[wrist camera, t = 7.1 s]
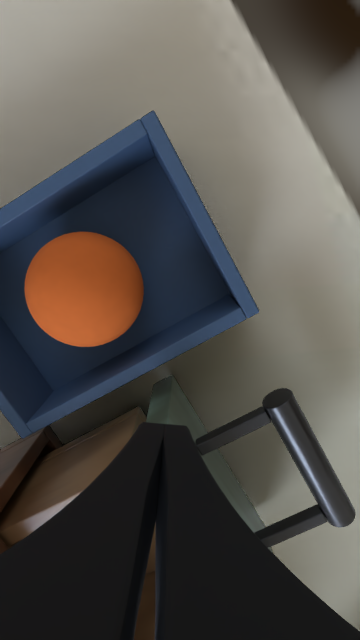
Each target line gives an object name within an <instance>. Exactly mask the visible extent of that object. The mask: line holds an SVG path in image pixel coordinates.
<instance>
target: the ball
mask: <svg viewBox="0 0 360 640" xmlns="http://www.w3.org/2000/svg"><path fill="white" fill-rule="evenodd" d="M24 289H25V298H26V302H27V306H28V309H29V311H30V313H31V315H32V317H33V318H34V320H35V321H36V323H37V324H38V325H39V326H40V328H42V329H43V330H44V331H45V332H46V333H47V334H48V335H50V336H51V337H53V338H54V339H56V340H58V341H60V342H63V343H65V344H68V345H72V346H78V347H93V346H99V345H103V344H105V343H108V342H111V341H113V340H115V339H116V338H118V337H119V336H121V335H122V334H124V333H125V332H126V331H127V330H128V329H129V328H130V327H131V325H132V324H133V323H134V321H135V320H136V318H137V316H138V314H139V312H140V309H141V306H142V302H143V296H144V285H143V279H142V275H141V272H140V269H139V267H138V265H137V263H136V261H135V259H134V258H133V257H132V255H131V254H130V253H129V252H128V251H127V250H126V249H125V248H124V247H123V246H122V245H121V244H119V243H118V242H116V241H115V240H113V239H111V238H109V237H107V236H104V235H101V234H98V233H93V232H73V233H68V234H64V235H61V236H59V237H56V238H55V239H53V240H51V241H50V242H48V243H47V244H46V245H44V246H43V247H42V248H41V249H40V250H39V251H38V252H37V253H36V255H35V256H34V258H33V259H32V261H31V263H30V265H29V267H28V270H27V273H26V278H25V287H24Z"/></svg>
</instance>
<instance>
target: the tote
mask: <svg viewBox="0 0 360 640" xmlns="http://www.w3.org/2000/svg"><path fill="white" fill-rule="evenodd" d="M73 232H93V233H98V234H101V235H104V236H107V237H109V238H111V239H113V240H115V241H116V242H118V243H119V244H121V245H122V246H123V247H124V248H125V249H126V250H127V251H128V252H129V253H130V254H131V255H132V257H133V258H134V259H135V261H136V263H137V265H138V267H139V269H140V272H141V275H142V279H143V285H144V296H143V302H142V306H141V309H140V312H139V314H138V316H137V318H136V320H135V321H134V323H133V324H132V325H131V327H130V328H129V329H128V330H127V331H126V332H125V333H124V334H122V335H121V336H119V337H118V338H116V339H115V340H113V341H111V342H108V343H105V344H103V345H99V346H93V347H78V346H72V345H68V344H65V343H63V342H60V341H58V340H56V339H54V338H53V337H51V336H50V335H48V334H47V333H46V332H45V331H44V330H43V329H42V328H40V326H39V325H38V324H37V323H36V321H35V320H34V318H33V317H32V315H31V313H30V311H29V309H28V306H27V302H26V298H25V289H24V287H25V278H26V273H27V270H28V267H29V265H30V263H31V261H32V259H33V258H34V256H35V255H36V253H37V252H38V251H39V250H40V249H41V248H42V247H43V246H44V245H46V244H47V243H48V242H50V241H51V240H53V239H55V238H56V237H59V236H61V235H64V234H68V233H73ZM257 313H259V309H258V307H257V305H256V304H255V302H254V300H253V298H252V296H251V294H250V292H249V290H248V288H247V286H246V284H245V283H244V281H243V279H242V277H241V275H240V273H239V271H238V269H237V267H236V265H235V264H234V262H233V260H232V258H231V256H230V254H229V252H228V250H227V248H226V246H225V245H224V243H223V241H222V239H221V237H220V235H219V233H218V231H217V229H216V227H215V226H214V224H213V222H212V220H211V218H210V216H209V214H208V212H207V210H206V208H205V206H204V205H203V203H202V201H201V199H200V197H199V195H198V193H197V191H196V189H195V187H194V186H193V184H192V182H191V180H190V178H189V176H188V174H187V172H186V170H185V168H184V167H183V165H182V163H181V161H180V159H179V157H178V155H177V153H176V151H175V149H174V148H173V146H172V144H171V142H170V140H169V138H168V136H167V134H166V132H165V130H164V128H163V127H162V125H161V123H160V121H159V119H158V117H157V115H156V113H155V112H154V111H151V112H149V113H148V114H146V115H145V116H143V117H142V118H141V120H140V119H139V120H137V121H135V122H134V123H132V124H131V125H129V126H128V127H126V128H124V129H123V130H121V131H120V132H118V133H117V134H115V135H114V136H112V137H110V138H109V139H107V140H106V141H104V142H103V143H101V144H100V145H98V146H97V147H95V148H93V149H92V150H90V151H89V152H87V153H86V154H84V155H83V156H81V157H80V158H78V159H76V160H75V161H73V162H72V163H70V164H69V165H67V166H66V167H64V168H63V169H61V170H59V171H58V172H56V173H55V174H53V175H52V176H50V177H49V178H47V179H46V180H44V181H42V182H41V183H39V184H38V185H36V186H35V187H33V188H32V189H30V190H29V191H27V192H25V193H24V194H22V195H21V196H19V197H18V198H16V199H15V200H13V201H11V202H10V203H8V204H7V205H5V206H4V207H2V208H1V209H0V410H1V412H2V413H3V414H4V416H5V417H6V418H7V420H8V421H9V422H10V424H11V425H12V426H13V428H14V429H15V430H16V431H17V433H18V434H19V435H20V437H21V438H22V439H24V438H26V437H27V436H29V435H31V434H32V433H35V432H37V431H39V430H40V429H42V428H44V427H46V426H48V425H50V424H52V423H54V422H55V421H57V420H59V419H61V418H63V417H65V416H67V415H68V414H70V413H72V412H74V411H76V410H78V409H80V408H82V407H83V406H85V405H87V404H89V403H91V402H93V401H95V400H96V399H98V398H100V397H102V396H104V395H106V394H108V393H110V392H111V391H113V390H115V389H117V388H119V387H121V386H123V385H124V384H126V383H128V382H130V381H132V380H134V379H136V378H138V377H139V376H141V375H143V374H145V373H147V372H149V371H151V370H152V369H154V368H156V367H158V366H160V365H162V364H164V363H165V362H167V361H169V360H171V359H173V358H175V357H177V356H179V355H180V354H182V353H184V352H186V351H188V350H190V349H192V348H193V347H195V346H197V345H199V344H201V343H203V342H205V341H207V340H208V339H210V338H212V337H214V336H216V335H218V334H220V333H221V332H223V331H225V330H227V329H229V328H231V327H233V326H235V325H236V324H238V323H240V322H242V321H244V320H246V317H247V318H249V317H251V316H253V315H255V314H257Z"/></svg>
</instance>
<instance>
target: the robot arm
mask: <svg viewBox="0 0 360 640" xmlns="http://www.w3.org/2000/svg"><path fill="white" fill-rule="evenodd" d="M155 522H156V529H155V639H154V640H360V631H358V630H357V629H356V628H355V627H353V626H352V625H351V624H349V623H348V622H347V621H346V620H344V619H343V618H342V617H341V616H340V615H338V614H337V613H336V612H335V611H334V610H333V609H331V608H330V607H329V606H328V605H327V604H326V603H325V602H324V601H322V600H321V599H320V598H319V597H318V596H317V595H316V594H314V593H313V592H312V591H311V590H310V589H309V588H308V587H307V586H305V585H304V584H303V583H302V582H301V581H300V580H299V579H298V578H297V577H296V576H295V575H294V574H293V573H292V572H291V571H290V570H289V569H288V568H287V567H286V566H285V565H284V564H283V563H282V562H281V561H280V560H279V559H278V558H277V557H276V556H275V555H274V554H273V553H272V552H271V551H270V550H269V549H268V548H267V547H266V546H265V545H264V544H263V542H262V541H261V540H260V539H259V538H258V537H257V536H256V535H255V533H254V532H253V531H252V530H251V529H250V527H249V526H248V525H247V524H246V522H245V521H244V520H243V519H242V518H241V516H240V515H239V514H238V512H237V511H236V510H235V508H234V507H233V506H232V504H231V503H230V502H229V500H228V499H227V497H226V496H225V494H224V493H223V491H222V490H221V488H220V487H219V485H218V484H217V482H216V481H215V479H214V478H213V476H212V474H211V472H210V471H209V469H208V467H207V466H206V464H205V462H204V460H203V458H202V457H201V455H200V453H199V451H198V449H197V447H196V445H195V442H194V440H193V438H192V435H191V433H190V430H189V429H188V427H187V426H184V425H172V424H161V423H150V422H143V423H141V424H140V425H139V426H138V428H137V430H136V431H135V433H134V434H133V435H132V437H131V438H130V440H129V441H128V442H127V443H126V445H125V446H124V447H123V449H122V450H121V451H120V452H119V453H118V454H117V456H116V457H115V458H114V459H113V460H112V462H111V463H110V464H109V465H108V466H107V467H106V468H105V469H104V470H103V471H102V472H101V473H100V474H99V475H98V476H97V477H96V478H95V479H94V480H93V481H92V482H91V484H90V485H89V486H87V487H86V488H85V489H84V490H83V491H82V492H81V493H80V494H79V495H78V496H77V497H76V498H74V499H73V500H72V501H71V502H70V503H69V504H68V505H66V506H65V507H64V508H63V509H62V510H60V511H59V512H58V513H57V514H56V515H54V516H53V517H52V518H50V519H49V520H48V521H46V522H45V523H44V524H43V525H41V526H40V527H39V528H37V529H36V530H35V531H33V532H32V533H31V534H29V535H28V536H26V537H25V538H24V539H22V540H21V541H19V542H18V543H17V544H15V545H14V546H12V547H11V548H9V549H8V550H6V551H4V552H3V553H1V554H0V640H134V635H135V629H136V622H137V616H138V611H139V605H140V600H141V595H142V590H143V585H144V579H145V574H146V569H147V564H148V559H149V554H150V548H151V543H152V538H153V533H154V527H155Z"/></svg>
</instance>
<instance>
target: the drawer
mask: <svg viewBox="0 0 360 640" xmlns="http://www.w3.org/2000/svg"><path fill="white" fill-rule="evenodd" d="M262 404H263V406H262V407H260V408H258V409H256V410H254V411H252V412H250V413H248V414H246V415H244V416H242V417H240V418H238V419H236V420H233V421H231V422H229V423H227V424H225V425H223V426H221V427H219V428H217V429H215V430H213V431H211V432H209V433H208V432H207V430H206V429H205V427H204V425H203V424H202V422H201V421H200V419H199V417H198V416H197V414H196V412H195V411H194V409H193V408H192V406H191V404H190V403H189V401H188V399H187V398H186V396H185V394H184V393H183V391H182V390H181V388H180V386H179V385H178V383H177V381H176V380H175V378H174V376H173V375H171V376H169V377H167V378H165V379H163V380H161V381H159V382H157V383H156V384H154V385H153V390H152V395H151V400H150V405H149V410H148V414H147V417H146V416H145V414H144V413H143V411H142V410H141V408H140V407H136V408H134V409H133V410H131V411H129V412H127V413H125V414H123V415H121V416H119V417H117V418H115V419H113V420H111V421H110V422H108V423H106V424H104V425H102V426H100V427H98V428H96V429H94V430H92V431H90V432H89V433H87V434H85V435H83V436H81V437H79V438H77V439H75V440H73V441H71V442H69V443H68V444H66V445H64V446H62V447H60V448H58V449H56V450H54V451H52V452H50V453H48V454H47V455H45V456H43V457H41V458H39V459H37V460H35V462H34V463H33V465H32V466H31V468H30V469H29V471H28V472H27V474H26V475H25V477H24V478H23V480H22V481H21V483H20V484H19V486H18V487H17V489H16V490H15V492H14V493H13V495H12V496H11V498H10V499H9V501H8V502H7V504H6V505H5V507H4V508H3V510H2V511H1V513H0V539H1V540H2V541H3V542H4V543H5V545H6V546H7V547H8V548H11V547H12V546H14V545H15V544H17V543H18V542H19V541H21V540H22V539H24V538H25V537H26V536H28V535H29V534H31V533H32V532H33V531H35V530H36V529H37V528H39V527H40V526H41V525H43V524H44V523H45V522H46V521H48V520H49V519H50V518H52V517H53V516H54V515H56V514H57V513H58V512H59V511H60V510H62V509H63V508H64V507H65V506H66V505H68V504H69V503H70V502H71V501H72V500H73V499H74V498H76V497H77V496H78V495H79V494H80V493H81V492H82V491H83V490H84V489H85V488H86V487H87V486H89V485H90V484H91V482H92V481H93V480H94V479H95V478H96V477H97V476H98V475H99V474H100V473H101V472H102V471H103V470H104V469H105V468H106V467H107V466H108V465H109V464H110V463H111V462H112V460H113V459H114V458H115V457H116V456H117V454H118V453H119V452H120V451H121V450H122V449H123V447H124V446H125V445H126V443H127V442H128V441H129V440H130V438H131V437H132V435H133V434H134V433H135V431H136V430H137V428H138V426H139V425H140V424H141V423H143V422H150V423H161V424H172V425H184V426H187V427H188V429H189V430H190V433H191V435H192V438H193V440H194V442H195V445H196V447H197V449H198V451H199V453H200V455H201V457H202V458H203V460H204V462H205V464H206V466H207V467H208V469H209V471H210V472H211V474H212V476H213V478H214V479H215V481H216V482H217V484H218V485H219V487H220V488H221V490H222V491H223V493H224V494H225V496H226V497H227V499H228V500H229V502H230V503H231V504H232V506H233V507H234V508H235V510H236V511H237V512H238V514H239V515H240V516H241V518H242V519H243V520H244V521H245V522H246V524H247V525H248V526H249V527H250V529H251V530H252V531H253V532H254V533H255V535H256V536H257V537H258V538H259V539H260V540H261V541H262V542H263V544H264V545H265V546H266V547H267V548H268V549H269V550H270V551H271V552H272V549H271V546H273V545H275V544H278V543H280V542H282V541H285V540H287V539H289V538H291V537H294V536H296V535H298V534H301V533H303V532H305V531H307V530H310V529H312V528H314V527H317V526H319V525H321V524H323V523H326V522H327V521H328V522H329V523H330V524H331V525H333V526H335V527H345V526H348V525H349V524H351V523H352V522H353V520H354V519H355V509H354V507H353V505H352V504H351V502H350V500H349V498H348V496H347V494H346V492H345V490H344V489H343V487H342V485H341V483H340V481H339V479H338V477H337V475H336V474H335V472H334V470H333V468H332V466H331V464H330V462H329V460H328V459H327V457H326V455H325V453H324V451H323V449H322V447H321V445H320V444H319V442H318V440H317V438H316V436H315V434H314V432H313V430H312V429H311V427H310V425H309V423H308V421H307V419H306V417H305V415H304V413H303V412H302V410H301V408H300V406H299V404H298V402H297V400H296V398H295V397H294V395H293V393H292V391H291V390H289V389H287V388H281V389H277V390H274V391H272V392H270V393H269V394H268V395H267V396H266V397H265V398H264V399H263V402H262ZM270 419H271V420H270ZM271 421H272V423H273V425H274V426H275V428H276V430H277V432H278V434H279V435H280V437H281V439H282V441H283V443H284V444H285V446H286V448H287V450H288V451H289V453H290V455H291V457H292V459H293V460H294V462H295V464H296V466H297V468H298V469H299V471H300V473H301V475H302V476H303V478H304V480H305V482H306V484H307V485H308V487H309V489H310V491H311V493H312V494H313V496H314V498H315V500H316V501H317V503H318V504H317V505H314V506H312V507H310V508H308V509H306V510H303V511H301V512H299V513H297V514H294V515H292V516H290V517H288V518H285V519H283V520H281V521H279V522H276V523H274V524H272V525H270V526H268V527H265V525H264V523H263V522H262V520H261V519H260V517H259V515H258V514H257V512H256V510H255V509H254V507H253V505H252V504H251V502H250V501H249V499H248V497H247V496H246V494H245V492H244V491H243V489H242V488H241V486H240V484H239V483H238V481H237V479H236V478H235V476H234V474H233V473H232V471H231V470H230V468H229V466H228V465H227V463H226V461H225V460H224V458H223V457H222V455H221V453H220V452H219V450H218V448H219V447H221V446H224V445H226V444H228V443H230V442H232V441H234V440H236V439H238V438H240V437H242V436H244V435H246V434H248V433H250V432H252V431H254V430H256V429H258V428H260V427H262V426H264V425H266V424H269V423H270V422H271ZM326 519H327V520H326ZM155 529H156V522H155V527H154V533H153V538H152V543H151V548H150V554H149V559H148V564H147V569H146V574H145V579H144V585H143V590H142V595H141V600H140V605H139V611H138V616H137V622H136V629H135V635H134V640H154V639H155ZM272 553H273V552H272Z"/></svg>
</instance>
